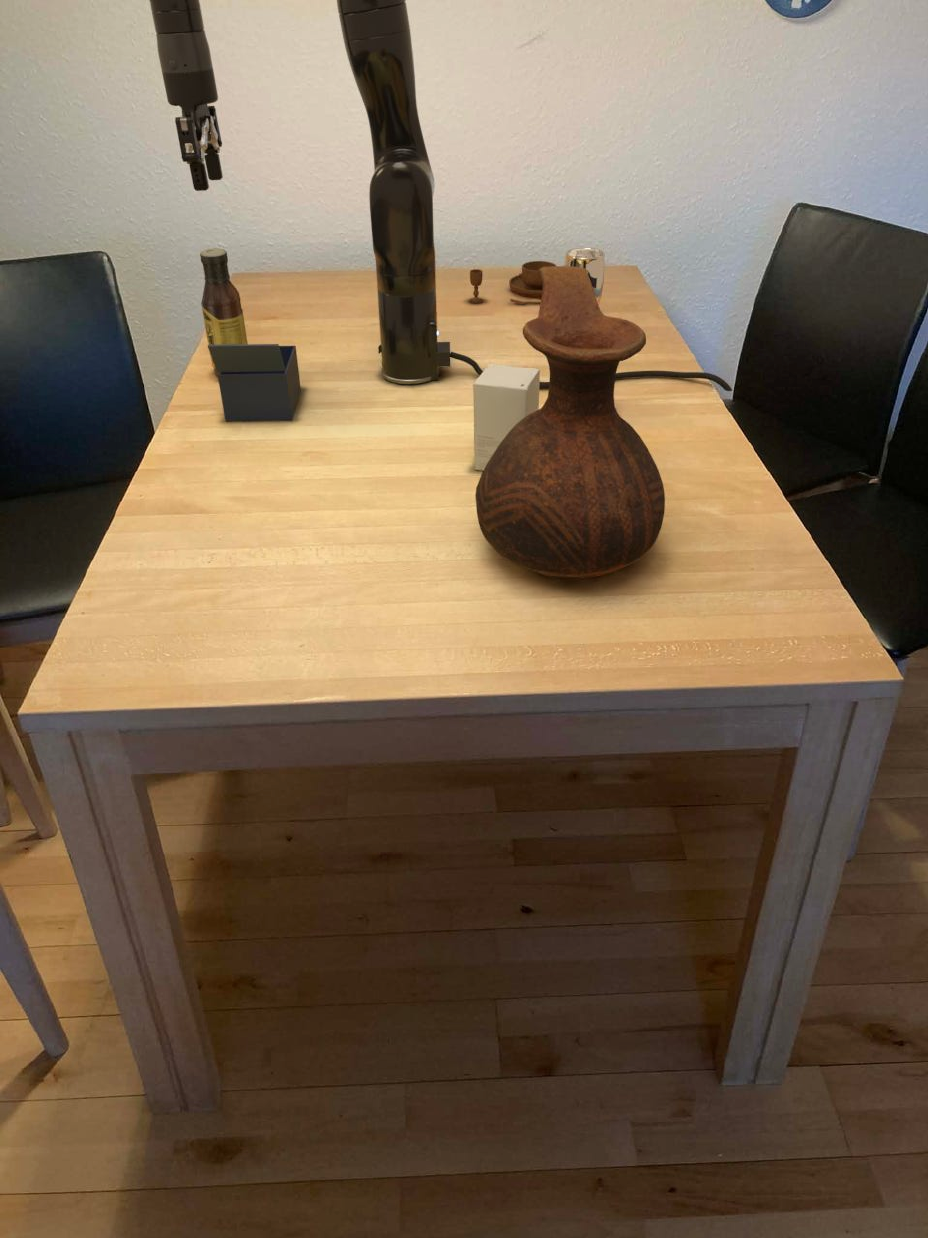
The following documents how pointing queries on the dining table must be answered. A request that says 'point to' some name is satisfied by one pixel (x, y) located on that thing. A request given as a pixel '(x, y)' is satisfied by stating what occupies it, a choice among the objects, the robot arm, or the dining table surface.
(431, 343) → the robot arm
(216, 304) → the sauce bottle
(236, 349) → the flap
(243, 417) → the carton
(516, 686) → the dining table surface
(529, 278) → the place setting
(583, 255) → the beer glass
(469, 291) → the dining table surface
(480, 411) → the white packaging box
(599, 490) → the jug
